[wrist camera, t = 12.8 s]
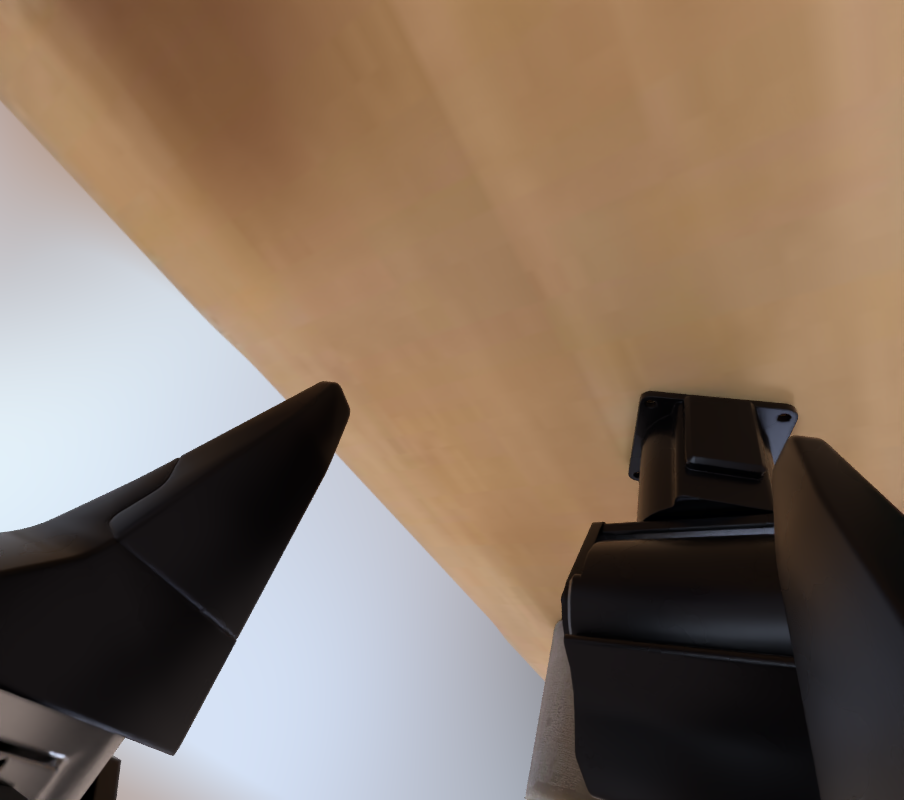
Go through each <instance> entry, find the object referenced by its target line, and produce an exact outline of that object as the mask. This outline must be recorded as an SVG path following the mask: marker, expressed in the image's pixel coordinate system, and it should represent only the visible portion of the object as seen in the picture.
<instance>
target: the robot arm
mask: <svg viewBox="0 0 904 800" xmlns="http://www.w3.org/2000/svg"><path fill="white" fill-rule="evenodd" d="M648 400H652V401H655V402H653V403H649V402H647V401H648ZM781 414H788V415H785V416H779V415H781ZM349 416H350V408H349V405H348V402H347V400H346V398H345V395H344V393H343V391H342V388H341V386H340V385H339V384H338V383H335V382H327V381H322V382H319V383H317V384H316V385H314V386H312V387H310V388H308V389H306V390H304V391H302V392H301V393H299V394H297V395H295V396H293V397H291V398H289V399H287V400H286V401H284V402H282V403H280V404H278V405H277V406H275V407H272V408H271V409H269V410H267V411H265V412H263V413H261V414H259V415H257V416H256V417H254V418H252V419H250V420H248V421H246V422H244V423H242V424H241V425H239V426H237V427H235V428H233V429H231V430H229V431H227V432H226V433H224V434H222V435H220V436H218V437H216V438H214V439H212V440H210V441H208V442H207V443H205V444H203V445H201V446H199V447H197V448H195V449H193V450H192V451H190V452H188V453H186V454H184V455H182V456H181V457H180V458H176V459H174V460H173V461H171V462H169V463H167V464H165V465H163V466H161V467H159V468H157V469H155V470H154V471H152V472H150V473H148V474H146V475H144V476H142V477H140V478H138V479H136V480H134V481H132V482H130V483H128V484H126V485H124V486H121V487H119V488H117V489H115V490H113V491H111V492H109V493H107V494H105V495H102V496H100V497H98V498H96V499H94V500H92V501H90V502H88V503H85V504H83V505H81V506H79V507H77V508H75V509H73V510H70V511H68V512H66V513H64V514H62V515H60V516H58V517H56V518H53V519H51V520H49V521H46V522H44V523H41V524H38V525H35V526H32V527H28V528H24V529H20V530H15V531H9V532H1V533H0V800H116V797H117V788H118V780H119V772H120V764H121V760H120V759H118V758H116V757H115V756H113V754H114V752H115V751H116V750H117V748H118V747H119V745H120V744H121V742H122V741H123V740H124V739H125V738H128V739H130V740H133V741H136V742H138V743H141V744H143V745H146V746H148V747H151V748H154V749H156V750H159V751H162V752H164V753H167V754H169V755H172V756H173V755H174V754H175V753H176V752H177V750H178V749H179V747H180V745H181V743H182V742H183V740H184V738H185V736H186V734H187V732H188V730H189V728H190V727H191V725H192V723H193V721H194V719H195V718H196V716H197V714H198V711H199V710H200V708H201V706H202V704H203V703H204V701H205V699H206V697H207V695H208V693H209V691H210V689H211V688H212V686H213V684H214V682H215V680H216V678H217V676H218V674H219V672H220V671H221V669H222V667H223V665H224V663H225V661H226V659H227V658H228V655H229V654H230V652H231V650H232V648H233V646H234V645H235V642H236V639H237V638H238V636H239V635H240V633H241V631H242V629H243V627H244V625H245V623H246V622H247V620H248V618H249V616H250V614H251V612H252V610H253V608H254V607H255V604H256V603H257V601H258V599H259V597H260V595H261V594H262V592H263V590H264V588H265V586H266V584H267V582H268V580H269V579H270V577H271V575H272V573H273V571H274V569H275V567H276V565H277V564H278V562H279V560H280V558H281V556H282V554H283V552H284V551H285V549H286V547H287V545H288V543H289V541H290V539H291V537H292V536H293V534H294V532H295V530H296V528H297V526H298V524H299V522H300V521H301V519H302V517H303V515H304V513H305V511H306V509H307V508H308V506H309V504H310V502H311V500H312V498H313V496H314V494H315V493H316V490H317V489H318V487H319V485H320V483H321V481H322V479H323V478H324V476H325V474H326V472H327V470H328V467H329V465H330V463H331V461H332V458H333V456H334V453H335V451H336V448H337V446H338V444H339V441H340V439H341V436H342V434H343V431H344V429H345V426H346V424H347V422H348V419H349ZM797 420H798V414H797V411H796V409H795V407H794V406H792V405H789V404H783V403H772V402H762V401H751V400H740V399H730V398H719V397H708V396H698V395H687V394H676V393H666V392H655V391H648V392H645V393H643V394H642V395H641V397H640V401H639V407H638V413H637V420H636V426H635V433H634V439H633V445H632V452H631V458H630V464H629V473H628V474H629V477H630V478H632V479H633V480H637V481H639V494H638V511H637V522H626V523H610V524H606V523H605V522H595V523H592V525H591V527H590V529H589V532H588V534H587V536H586V538H585V541H584V543H583V545H582V547H581V550H580V552H579V554H578V556H577V559H576V561H575V563H574V565H573V568H572V570H571V572H570V574H569V577H568V579H567V582H566V585H565V588H564V591H563V593H562V596H561V604H562V625H563V631H564V639H563V641H564V646H565V650H566V654H567V658H568V662H569V666H570V672H571V679H572V687H573V695H574V723H575V756H576V760H577V763H578V765H579V768H580V771H581V773H582V776H583V779H584V782H585V784H586V787H587V789H588V792H589V793H590V795H591V796H592V797H594V798H597V799H600V800H904V514H903V513H902V512H900V511H899V510H898V509H897V508H896V507H895V506H894V505H893V504H892V503H891V502H890V501H889V500H888V499H886V498H885V497H884V496H883V495H882V494H881V493H880V492H879V491H878V490H877V489H876V488H875V487H874V486H873V485H871V484H870V483H869V482H868V481H867V480H866V479H865V478H864V477H863V476H862V475H861V474H860V473H859V472H857V471H856V470H855V469H854V468H853V467H852V466H851V465H850V464H849V463H848V462H847V461H846V460H845V459H844V458H842V457H841V456H840V455H839V454H838V453H837V452H836V451H835V450H834V449H833V448H832V447H831V446H830V445H828V444H827V443H826V442H825V441H824V440H822V439H819V438H814V437H805V436H791V437H790V438H789V436H790V434H791V432H792V430H793V428H794V426H795V424H796V422H797ZM788 438H789V439H788ZM637 472H639V473H637Z"/></svg>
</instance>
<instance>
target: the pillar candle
mask: <svg viewBox="0 0 904 800" xmlns="http://www.w3.org/2000/svg"><path fill="white" fill-rule="evenodd" d="M563 639H564V631H563V625H562V620H561V621H559V622H558V623H557V624H556V625H555V629H554V634H553V640H552V646H551V652H550V657H549V663H548V669H547V675H546V680H545V686H544V692H543V698H542V704H541V709H540V716H539V721H538V727H537V733H536V738H535V744H534V750H533V755H532V761H531V767H530V773H529V778H528V784H527V790H526V797H525V799H527V800H600V799H597V798H594V797H592V796H591V795H590V793H589V792H588V789H587V787H586V784H585V782H584V779H583V776H582V773H581V771H580V768H579V765H578V763H577V760H576V756H575V723H574V695H573V687H572V679H571V672H570V666H569V662H568V658H567V654H566V650H565V646H564V641H563Z"/></svg>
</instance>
